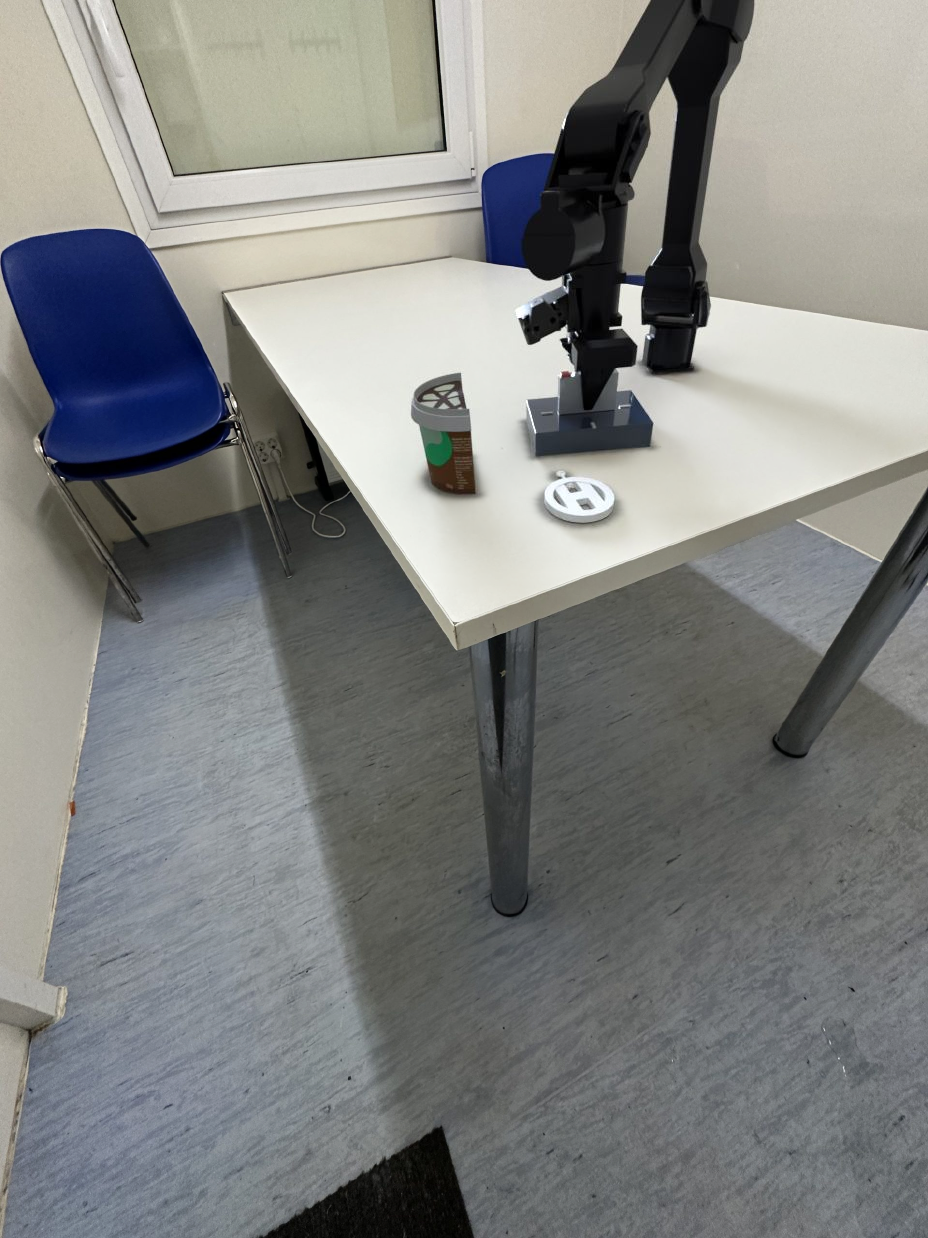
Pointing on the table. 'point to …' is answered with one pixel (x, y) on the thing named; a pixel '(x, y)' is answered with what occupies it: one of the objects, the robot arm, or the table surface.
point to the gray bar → (573, 398)
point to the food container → (445, 433)
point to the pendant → (579, 499)
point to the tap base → (588, 427)
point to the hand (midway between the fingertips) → (586, 406)
